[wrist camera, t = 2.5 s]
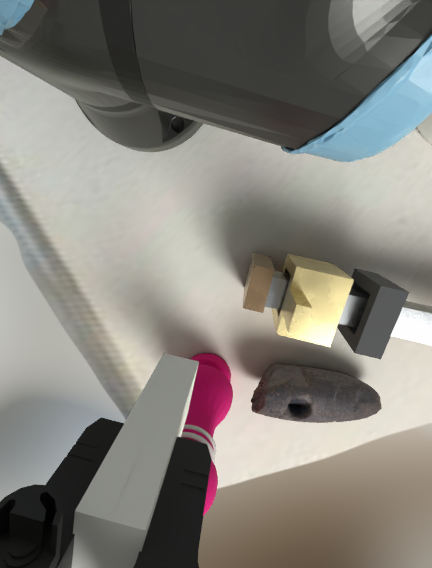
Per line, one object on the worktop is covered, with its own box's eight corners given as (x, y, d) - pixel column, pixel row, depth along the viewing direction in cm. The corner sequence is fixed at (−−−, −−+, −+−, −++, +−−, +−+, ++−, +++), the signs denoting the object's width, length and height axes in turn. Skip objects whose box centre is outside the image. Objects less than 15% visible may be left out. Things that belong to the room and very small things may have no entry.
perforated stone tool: (375, 367, 37) (402, 404, 30) (365, 403, 38) (389, 445, 32) (254, 352, 38) (255, 384, 31) (249, 387, 40) (249, 424, 33)
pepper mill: (197, 339, 38) (145, 477, 19) (245, 367, 39) (240, 531, 20) (171, 379, 40) (101, 539, 21) (216, 405, 41) (187, 587, 22)
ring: (334, 324, 33) (354, 352, 27) (354, 268, 32) (380, 285, 25) (356, 329, 33) (380, 359, 27) (377, 273, 31) (409, 292, 25)
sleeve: (271, 309, 34) (280, 356, 24) (287, 253, 32) (304, 278, 22) (314, 319, 34) (342, 371, 23) (333, 263, 32) (372, 294, 22)
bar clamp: (244, 287, 36) (242, 308, 29) (253, 252, 34) (253, 265, 28) (496, 346, 34) (559, 383, 27) (515, 312, 33) (586, 341, 26)
